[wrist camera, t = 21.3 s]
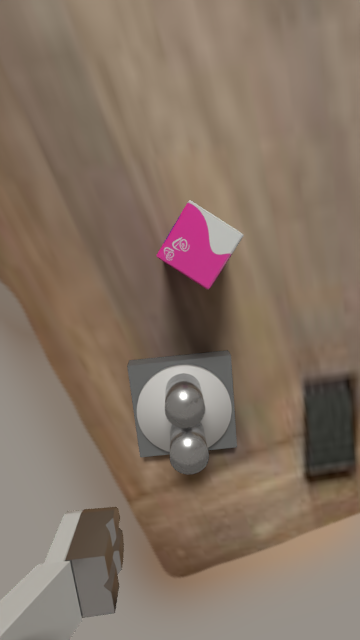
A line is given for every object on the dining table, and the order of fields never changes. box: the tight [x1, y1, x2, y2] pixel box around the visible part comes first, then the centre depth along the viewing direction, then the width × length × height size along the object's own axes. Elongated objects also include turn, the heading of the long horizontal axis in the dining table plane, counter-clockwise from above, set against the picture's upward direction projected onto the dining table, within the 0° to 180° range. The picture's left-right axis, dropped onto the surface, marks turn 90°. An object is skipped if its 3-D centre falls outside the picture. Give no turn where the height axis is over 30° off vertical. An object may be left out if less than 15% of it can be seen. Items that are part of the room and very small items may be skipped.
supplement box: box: [156, 200, 243, 289], centre depth 32 cm, size 6×6×12 cm
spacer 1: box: [165, 373, 205, 428], centre depth 36 cm, size 4×4×5 cm
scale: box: [127, 350, 237, 457], centre depth 41 cm, size 13×14×4 cm
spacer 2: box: [170, 422, 209, 474], centre depth 38 cm, size 4×4×5 cm
